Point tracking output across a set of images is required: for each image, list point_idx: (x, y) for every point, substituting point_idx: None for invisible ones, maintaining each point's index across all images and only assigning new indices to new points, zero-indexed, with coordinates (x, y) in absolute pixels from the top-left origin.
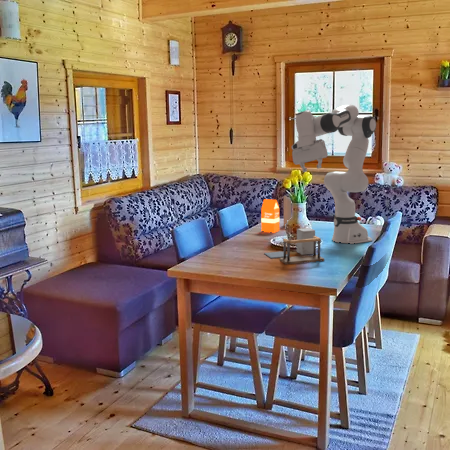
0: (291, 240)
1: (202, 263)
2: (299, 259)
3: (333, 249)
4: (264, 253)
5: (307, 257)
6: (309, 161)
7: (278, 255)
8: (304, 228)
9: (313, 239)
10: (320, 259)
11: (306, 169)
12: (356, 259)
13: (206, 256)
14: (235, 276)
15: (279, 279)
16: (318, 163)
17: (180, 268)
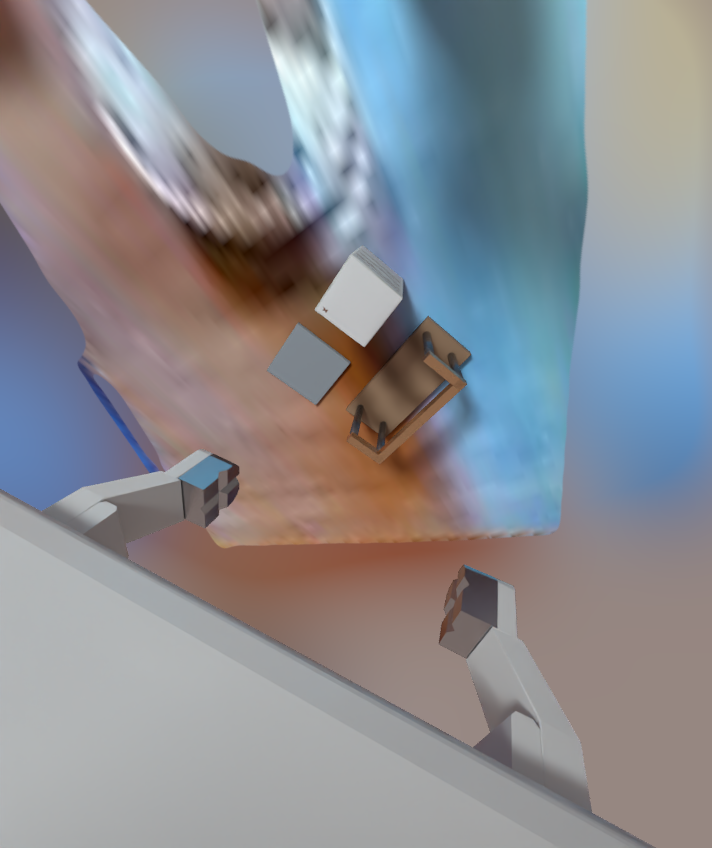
0: (384, 451)
1: None
2: (404, 399)
3: (443, 150)
4: (267, 370)
5: (415, 368)
6: (190, 599)
7: (319, 376)
8: (341, 289)
9: (444, 404)
10: (460, 364)
11: (219, 482)
12: (578, 272)
13: (177, 454)
14: (342, 539)
15: (429, 526)
16: (487, 692)
17: (221, 536)
